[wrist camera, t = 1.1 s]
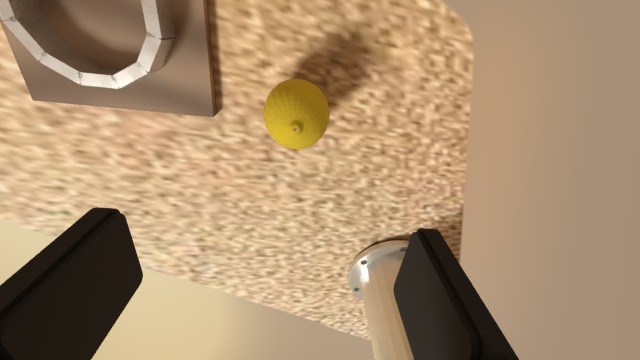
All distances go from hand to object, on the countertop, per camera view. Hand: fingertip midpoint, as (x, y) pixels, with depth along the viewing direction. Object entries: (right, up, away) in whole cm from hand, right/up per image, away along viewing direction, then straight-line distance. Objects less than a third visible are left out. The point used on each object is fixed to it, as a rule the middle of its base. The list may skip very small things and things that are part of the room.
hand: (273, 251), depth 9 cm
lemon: (-1, +10, +18) cm, 20 cm away
